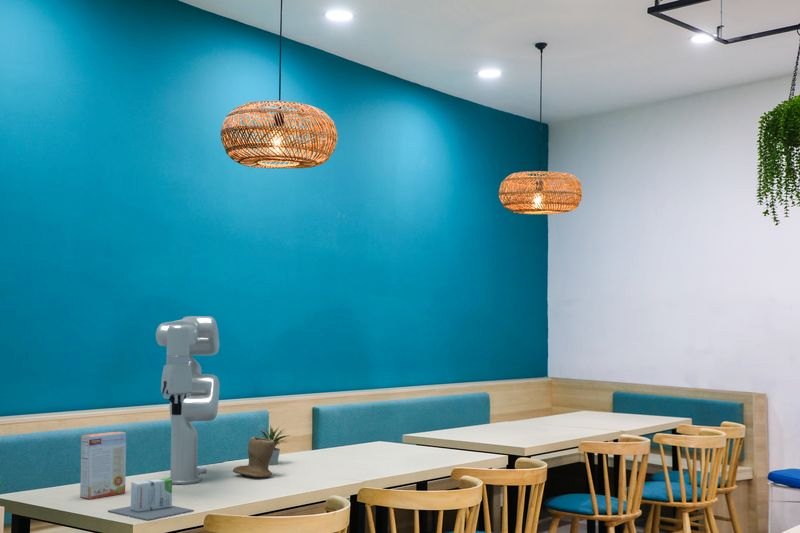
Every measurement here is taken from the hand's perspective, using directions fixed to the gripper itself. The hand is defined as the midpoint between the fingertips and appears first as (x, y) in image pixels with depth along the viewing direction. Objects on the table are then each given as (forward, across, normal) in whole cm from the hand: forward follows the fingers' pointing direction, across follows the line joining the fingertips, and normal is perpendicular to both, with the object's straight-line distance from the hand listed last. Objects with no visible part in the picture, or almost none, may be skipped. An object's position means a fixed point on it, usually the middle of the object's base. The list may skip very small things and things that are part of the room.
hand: (176, 414), depth 295 cm
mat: (+27, +22, +16) cm, 38 cm away
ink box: (+22, +14, +15) cm, 30 cm away
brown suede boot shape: (+27, -43, -6) cm, 51 cm away
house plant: (+27, -66, -22) cm, 75 cm away
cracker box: (+27, +16, -18) cm, 36 cm away
